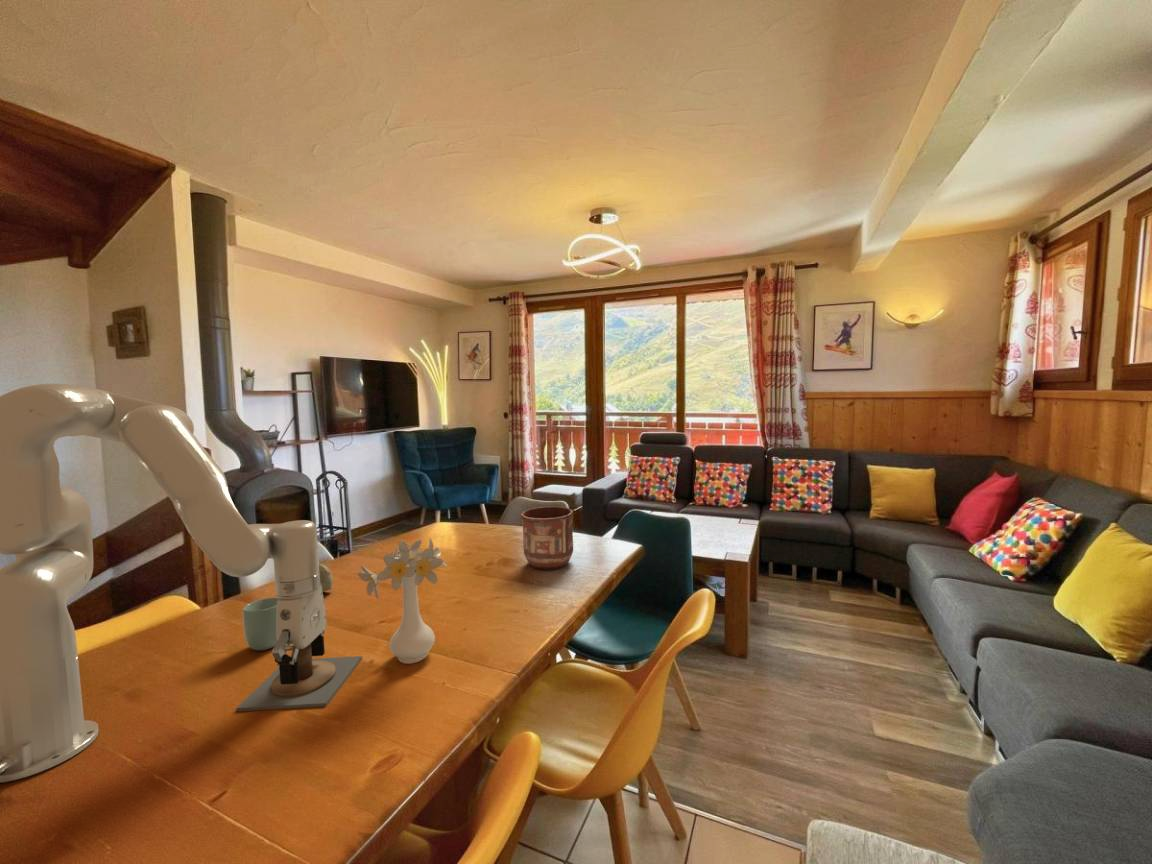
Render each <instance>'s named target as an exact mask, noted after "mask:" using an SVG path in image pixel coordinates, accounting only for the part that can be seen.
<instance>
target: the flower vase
mask: <svg viewBox="0 0 1152 864" xmlns="http://www.w3.org/2000/svg"><path fill="white" fill-rule="evenodd" d="M428 539H429V543H428V544H429V547H428V548H425V549H424V550H423V551H420V550H419V549H420V547H421V545H422V540H419V539H418V540H416V541H414V542H413V544H411V546H409V544H408V543H407V542H406V541H404V540H400V541H399V542H398V543H397V546H396V548H395V551H391V554H388V553H387V554H384V555H383V563H384V564H385V566H386V567H384V569H383V570H382V571H380V572H379V573H378V574H377V573H374V572H372V571H371V570H369V569H368V568H367V567H366V566H364V565H363V564H361V565H360V567H361V570H362V571H363V572H358V573H357V574H358V577H359V578H360V579H361V580H362V581H364V582H368V583H367V584H366V593H367V595H368V596H371V595H372V594H373V592H374V596H375V597H376V599H377V600H379V598H380V597H379V585H380V584H379V583H380V582H381V581H387V580H390V579H391V582H390V583H391V588H392V590H393V591H397V590H399V588H400V587H401V588H402V616H401V617H402V618H401V622H400V624H399V627H398V628H397V630H396V631H395V632H394V633H393V635H392V637H391V638H390V641H389V651H390V653H391V654H392V655H393V656H394V657H396V658H397V660H398V661H399V662H400V663H401V664H404V665H405V664H407V665H408V664H409V665H410V664H416V663H419V662H421V661H424V660H425V659H426V657H427V656H428V654H429V651H430V650H431V649H432V648H433V646H434V644H435V641H436V637H435V633H434V631H433V630H432V628H431V627H430V626H429V625H428V624H426V623H425V622H424V620H423V619H422V617H421V613H420V608H419V598H418V586H419V585H421V584H422V583H423V581H424V579H426V580H427V581H428V582H430V583H431V584H436V583H438V577H437V574H436V573H435V571H433V570H436V569H438V568H439V567H441V566H445V567H448V565H447V564H446V561H444V560H443V559H442V558H441V555H442V551H441V550H440V548H438V547H434V542H433V541H432V538H431V537H429V538H428ZM408 565H409V566H408Z"/></svg>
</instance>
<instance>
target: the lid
mask: <svg viewBox="0 0 1152 864" xmlns="http://www.w3.org/2000/svg"><path fill="white" fill-rule="evenodd" d="M312 659H313V656H312V651H311V644H309V645H308V646H307V647H306V648H304V649H300V648H299V651H298V654H297V658H296V661H295V662H298V668H299V682H298V683H297V684H281V683H280V674H279V675H278V676H277V677H276V678H275V679H274V680H273V682H272V692H273V694H275V695H276V696H280V697H294V696H300V695H304V694H307V693H310V692H312V691H315V690H317V689H319V688H321V687H323V686H324V685H326V684H327V683H328V682H330V681H331V680H332V679H333V677H334V676H335V673H336V670H335V665H334V664H333V663H331V662H329V661H312Z"/></svg>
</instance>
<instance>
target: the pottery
mask: <svg viewBox="0 0 1152 864" xmlns="http://www.w3.org/2000/svg"><path fill="white" fill-rule="evenodd" d="M573 515H574V512H573V510H572V509H570V508H568V507H565V506H553V505H552V506H550V505H549V506H539V507H533V508H529V509H527V510H523V511H522V513H520V519H521V520H520V521H521V525H522V533H523V534H522V535H523V541H522V543H523V549H522V550H523V554H524V557H525V559H526V561H527V563H528V564H529V565H531V567H533V568H535V570H536V569H537V570H541V571H543V570H544V571H550V570H551V571H552V570H553V571H554V570H558V569H561V568H563V567H565V566H566V565H567V564H568V563H569V562H570V560H571V558H572V555H573V552H574V536H573V534H574V533H573V531H574V530H573V529H574V528H573V523H574V520H573V519H574V518H573V517H574V516H573Z"/></svg>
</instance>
